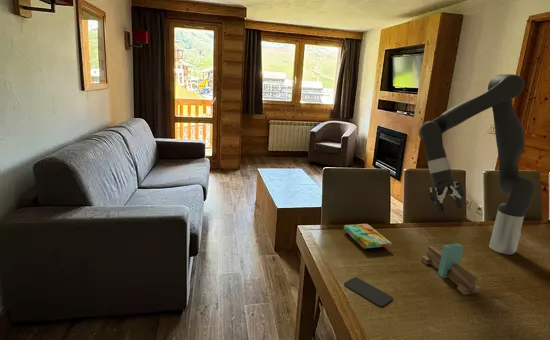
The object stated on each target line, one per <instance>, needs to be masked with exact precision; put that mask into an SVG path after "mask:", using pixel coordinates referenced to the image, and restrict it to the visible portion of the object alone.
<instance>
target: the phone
mask: <svg viewBox="0 0 550 340" xmlns="http://www.w3.org/2000/svg"><path fill="white" fill-rule="evenodd" d="M343 286H344V287H345V288H347V289H349V290H351V291H352V292H354V293H356V294H357V295H359V296H361V297H362V298H364V300H366V301H368V302H369V303H372V304H374V305H376V306H377V307H380V308H384V307H385V306H387V305H388V304H390V303H391V302H392V301H393V299H394V297H393V296H391V295H390V294H388V293H387V292H385V291H383V290H381V289H379V288H377V287H375V286H374V285H371V284H370V283H368V282H366V281H364V280H362V278H359V277H352V278H349V280H347V281H345V282H344V283H343Z"/></svg>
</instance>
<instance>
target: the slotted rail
mask: <svg viewBox="0 0 550 340" xmlns="http://www.w3.org/2000/svg"><path fill="white" fill-rule="evenodd" d="M426 252H427V253H426V255H421V259H420V261H421V262H422V263H424V265H426V266H427V265H431V266H433V267H434V268H435V269H436V270H437V271H439V266H440V261H441V256H442V252H441V251H439V250H438V249H437V248H435V247H433V245H432V246H431V245H430V246H429V245H428V247H427V251H426ZM446 278H449V280H451V282H453V283H454V284H455V285H457V288H456V290H458V292H460V293H461V294H463V295H464V296H465V295H471V294H472V295H474V294H479V293H480V290H481V288H480V286H479V285H477V280H478V278H477V277H476V276H475V275H473V274H472V273H471V272H469V271H468V270H467V269H465V268H464V267H462V266H461V265H458V264H453V266H452V269H450V270H448V271H447V276H446Z"/></svg>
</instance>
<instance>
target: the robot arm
mask: <svg viewBox="0 0 550 340" xmlns="http://www.w3.org/2000/svg"><path fill="white" fill-rule="evenodd" d="M525 85H526V84H525V80H524V79H523V77H522V76H520V75H517V74H510V73H509V74H508V73H507V74H505V73H503V74H501V73H500V74H497V75H494V76H492V78H491V79H490V81H489V82H488V85H487V91H486V92H483V93H482V94H479V95H478V96H475V97H473V98H470V99H468V100H465V101H463V102H460V103H458V104H456V105H455V106H452V107H451V108H449V109H448V110H445V111H444V112H443V113H441V114H440V115H439V116H438V117H436V118H434V119H432V120H427V121H424V123H423V124H422V125H421V127H420V128H419V130H418V135H419V137H420V138H421V139H422V140H423V143H424V147H425V150H424V151H425V157H426V160H427V165H428V169H429V174H430V178H431V182H432V184H434V186H433V187H428V193H429V198H430V202H431V203H432V204H436V206H437V210H438V212H439V213H440V214H444V213H446V209H445V206H444V203H443V201H444V199H445V197H447V196H451V197H452V198H453V199H454V203H455V207H456V209H457V210H459V209H463V202H462V197H465V193H464V189H463V187H462V183H461V182H460V181H453V180H454V176H453V172H452V168H451V165H450V162H449V160H448V157H447V153H446V151H445V147H444V144H443V143H444V141H443V136H442V135H443V133H446V132H447V131H448V130H450V129H452V128H453V129H454V128H455V127H457V126H459V125H460V124H462V123H464V122H466V121H468V120H469V119H471V118H472V117H474V116H476V115H478V114H480V113H482V112H484V111H487V110H488V109H491V108H492V114H493V124H494V130H495V131H494V132H495V141H496V142H495V143H496V147H497V156H498V165H499V167H498V169H499V170H498V171H499V172H498V173H499V177H498V178H499V179H498V183H499V188H500V191H501V192H502V194H505V195H506V196H508V199H507V201H506V202H502V203H499V205H498V208H497V213H496V216H495V220H494V225H493V229H492V233H491V237H490V242H489V245H488V246H489V248H490V249H491V250H492V251H495V252H496V253H499V254H504V255H514V254H515V253H516V252H518V251H517V249H518V246H519V243H520V238H521V234H522V231H521V229H522V226H523V221H524V219H525V214H526V213H527V211H528V210H529V208H530V206H531V203H532V200H533V196H534V193H535V183H534V182H533V181H532V180H531V179H529V178H526V177H523V176H521V175H520V171H519V159H520V157H521V155H522V153H523V151H524V148H525V145H526V143H525V132H524V127H523V125H522V123H521V121H520V119H519V117H518V115H517V114H516V112H515V109H514V106H513V99H514V98H517V97H518V96H520V95H521V93H523V91H524V88H525Z"/></svg>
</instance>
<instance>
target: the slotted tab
mask: <svg viewBox="0 0 550 340" xmlns="http://www.w3.org/2000/svg"><path fill="white" fill-rule="evenodd" d="M441 251H442V252H441V253H442V256H441V261H440V266H439V270H437V275H438V276H440V277H441V278H442V279H445V278H447V271H448V270H450V269H452V266H453V264H458V265H459V266H461V261H462V256H463V251H464V246H463V245H462V244H460V243H451V244H450V243H449V244H443V245H442V250H441Z"/></svg>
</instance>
